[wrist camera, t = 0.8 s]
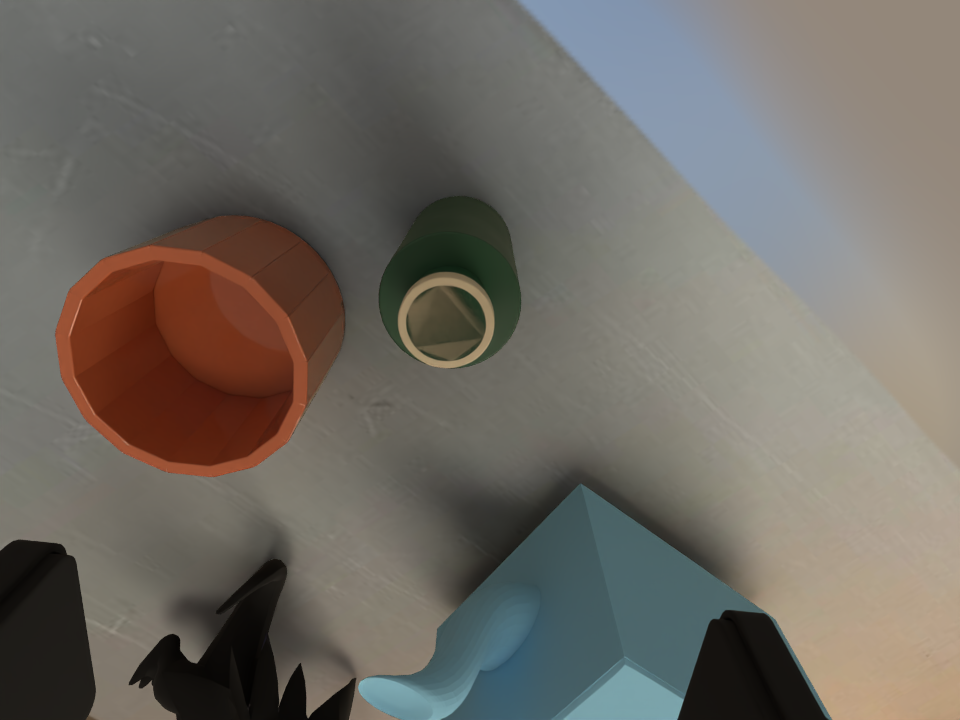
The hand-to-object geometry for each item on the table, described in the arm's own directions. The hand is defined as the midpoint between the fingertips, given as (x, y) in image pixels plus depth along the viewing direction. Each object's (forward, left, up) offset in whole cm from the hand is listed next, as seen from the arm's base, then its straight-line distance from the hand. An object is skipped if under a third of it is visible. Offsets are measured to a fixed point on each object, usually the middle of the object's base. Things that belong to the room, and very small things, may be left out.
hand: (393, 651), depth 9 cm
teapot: (+15, +8, -20) cm, 26 cm away
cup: (+2, -9, -20) cm, 22 cm away
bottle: (-2, 0, -20) cm, 20 cm away
